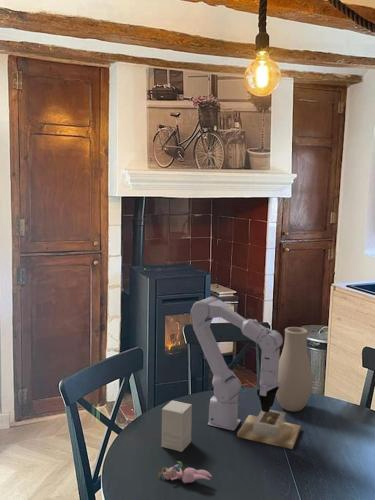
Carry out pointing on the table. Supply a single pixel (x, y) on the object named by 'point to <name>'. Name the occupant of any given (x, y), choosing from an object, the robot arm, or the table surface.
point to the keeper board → (284, 440)
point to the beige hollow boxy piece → (267, 429)
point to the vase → (294, 371)
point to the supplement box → (176, 425)
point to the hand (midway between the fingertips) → (267, 408)
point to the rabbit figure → (184, 473)
